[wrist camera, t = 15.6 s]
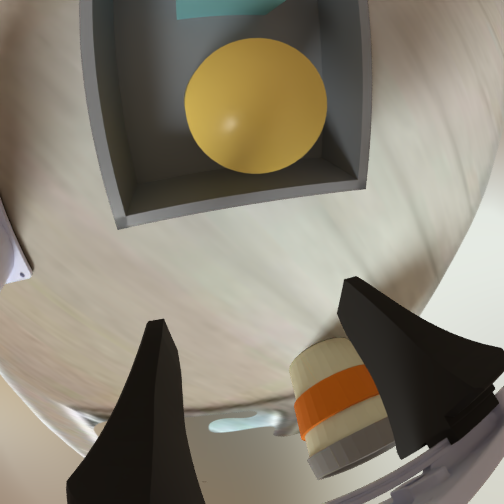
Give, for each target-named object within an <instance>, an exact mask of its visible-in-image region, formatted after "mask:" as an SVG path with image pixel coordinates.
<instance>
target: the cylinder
mask: <svg viewBox="0 0 504 504" xmlns="http://www.w3.org/2000/svg"><path fill="white" fill-rule="evenodd" d="M184 106H185V112H186V117H187V122H188V125H189V129H190V131H191V133H192V135H193V138H194V139H195V141H196V142H197V144H198V146H199V147H200V148H201V149H202V150H203V151H204V153H205V154H206V155H208V156H209V157H210V158H211V159H212V160H214V161H215V162H217V163H218V164H220V165H222V166H224V167H226V168H228V169H231V170H234V171H237V172H242V173H250V174H262V173H269V172H273V171H277V170H280V169H282V168H285V167H287V166H289V165H291V164H293V163H295V162H296V161H297V160H299V159H300V158H302V157H303V156H304V155H305V154H306V153H307V152H308V151H309V150H310V149H311V147H312V146H313V145H314V144H315V142H316V141H317V139H318V137H319V135H320V133H321V131H322V129H323V126H324V123H325V119H326V113H327V96H326V90H325V87H324V84H323V81H322V79H321V76H320V74H319V73H318V71H317V69H316V68H315V66H314V65H313V64H312V63H311V62H310V60H309V59H308V58H307V57H306V56H304V55H303V54H302V53H301V52H299V51H298V50H297V49H295V48H293V47H291V46H289V45H288V44H285V43H282V42H280V41H276V40H272V39H266V38H248V39H242V40H238V41H235V42H232V43H229V44H227V45H225V46H223V47H221V48H219V49H218V50H216V51H215V52H213V53H212V54H211V55H210V56H209V57H207V58H206V59H205V60H204V61H203V63H202V64H201V65H200V66H199V67H198V69H197V70H196V71H195V73H194V74H193V75H192V77H191V78H190V80H189V82H188V84H187V86H186V89H185V93H184Z"/></svg>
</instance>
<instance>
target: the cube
mask: <svg viewBox="0 0 504 504" xmlns="http://www.w3.org/2000/svg"><path fill="white" fill-rule="evenodd" d="M285 1H286V0H176V14H177V20H180V19H188V18H197V17H208V16H224V15H266V14H268V13H269V12H270V11H272V10H273V9H274V8H276V7H277V6H279V5H280V4H282V3H283V2H285Z"/></svg>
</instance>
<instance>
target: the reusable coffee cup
mask: <svg viewBox="0 0 504 504" xmlns="http://www.w3.org/2000/svg"><path fill="white" fill-rule="evenodd" d="M289 372H290V376H291V380H292V385H293V389H294V393H295V397H296V402H295V405H294V408H295V412H296V417H297V421H298V426H299V430H300V434H301V438H302V440H304V441H306V444H307V448H308V453H309V457H310V458H309V459H308V460H307V461H308V463H309V465H310V467H311V468H312V470H313V472H314V474H315V476H316V477H317V479H318V480H320V479H324V478H327V477H331V476H334V475H336V474H339V473H342V472H344V471H347V470H349V469H352V468H354V467H356V466H358V465H361V464H363V463H365V462H367V461H369V460H371V459H372V458H374V457H377V456H378V455H380V454H382V453H384V452H386V451H387V450H389V449H391V448H393V447H394V446H396V444H395V440H394V436H393V432H392V428H391V425H390V422H389V419H388V416H387V413H386V410H385V407H384V405H383V402H382V399H381V397H380V394H379V392H378V390H377V387H376V385H375V383H374V381H373V379H372V377H371V375H370V373H369V371H368V370H367V368H366V366H365V365H364V363H363V361H362V360H361V358H360V356H359V355H358V353H357V351H356V350H355V348H354V346H353V345H352V343H351V342H350V340H348V339H346V338H332V339H328V340H325V341H322V342H320V343H317V344H315V345H313V346H311V347H310V348H308V349H306V350H305V351H303V352H302V353H301V354H300V355H298V356H297V357H296V358H295V359H294V361H293V362H292V363H291V365H290V368H289Z"/></svg>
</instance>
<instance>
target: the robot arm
mask: <svg viewBox="0 0 504 504" xmlns="http://www.w3.org/2000/svg"><path fill="white" fill-rule="evenodd" d="M23 273H24V274H23ZM32 274H33V272H32V270H31V268H30V266H29V264H28V262H27V260H26V258H25V256H24V254H23V252H22V250H21V247H20V245H19V243H18V241H17V239H16V236H15V234H14V232H13V229H12V227H11V225H10V222H9V220H8V217H7V215H6V212H5V209H4V207H3V204H2V201H1V198H0V292H1V290H2V288H3V286H4V285H5V284H7V283H12V282H16V281H20V280H25V279H29V278H31V276H32ZM337 315H338V317H339V319H340V322H341V324H342V326H343V328H344V330H345V333H346V335H347V336H348V338H349V340H350V341H351V343H352V345H353V346H354V348H355V350H356V351H357V353H358V355H359V356H360V358H361V360H362V361H363V363H364V365H365V366H366V368H367V370H368V371H369V373H370V375H371V377H372V379H373V381H374V383H375V385H376V387H377V390H378V392H379V394H380V397H381V399H382V402H383V405H384V407H385V410H386V413H387V416H388V419H389V422H390V425H391V428H392V432H393V436H394V440H395V444H396V449H397V453H398V455H399V457H400V459H401V460H402V459H404V458H406V457H407V456H409V455H411V454H412V453H414V452H416V451H417V450H419V449H421V448H422V447H424V446H425V445H428V447H429V450H427V451H426V452H424V453H423V454H421V455H420V456H418V457H417V458H415V459H414V460H412V461H410V462H409V463H407V464H405V465H404V466H402V467H400V468H398V469H397V470H395V471H393V472H391V473H390V474H388V475H386V476H384V477H382V478H380V479H378V480H376V481H374V482H372V483H370V484H368V485H366V486H364V487H362V488H360V489H357V490H355V491H353V492H351V493H348V494H346V495H343V496H341V497H338V498H336V499H333V500H331V501H328V502H325V503H323V504H363V503H365V502H367V501H369V500H371V499H373V498H375V497H377V496H379V495H381V494H383V493H385V492H387V491H389V490H391V489H393V488H394V487H396V486H398V485H400V484H401V483H403V482H405V481H406V480H408V479H410V478H411V477H413V476H414V475H416V474H417V473H419V472H420V471H422V470H423V473H422V474H421V475H419V476H417V477H415V478H413V479H411V480H409V481H407V482H405V483H404V484H402V485H401V486H399V487H398V488H396V489H395V490H393V491H392V492H391V498H390V499H388V500H385V501H383V502H381V503H379V504H467V503H468V502H469V501H470V500H471V499H472V498H473V496H474V495H475V494H476V493H477V492H478V490H479V489H480V488H481V487H482V486H483V484H484V483H485V482H486V480H487V479H488V478H489V477H490V475H491V474H492V472H493V471H494V470H495V468H496V467H497V466H498V464H499V463H500V461H501V460H502V458H503V457H504V386H503V387H502V388H501V389H500V390H499V391H498V392H497V393H496V394H495V395H494V394H493V391H494V390H495V387H494V385H493V383H494V382H495V380H496V379H497V378H498V377H499V376H500V375H501V374H502V373H503V372H504V350H503V349H502V348H499V347H495V346H490V345H486V344H482V343H478V342H475V341H471V340H469V339H466V338H463V337H460V336H458V335H455V334H453V333H450V332H448V331H445V330H444V329H441V328H439V327H437V326H435V325H433V324H431V323H429V322H427V321H426V320H424V319H422V318H420V317H419V316H417V315H415V314H414V313H412V312H410V311H409V310H407V309H405V308H404V307H402V306H401V305H399V304H398V303H396V302H395V301H393V300H392V299H390V298H389V297H387V296H386V295H384V294H383V293H381V292H380V291H378V290H377V289H375V288H374V287H373V286H371V285H370V284H368V283H367V282H365V281H364V280H362V279H360V278H359V277H357V276H355V277H351V278H348V279H344V283H343V288H342V293H341V298H340V302H339V307H338V311H337ZM66 493H67V504H205V501H204V498H203V495H202V493H201V489H200V487H199V483H198V480H197V477H196V473H195V470H194V466H193V462H192V458H191V454H190V449H189V445H188V440H187V435H186V430H185V422H184V409H183V394H182V377H181V369H180V362H179V356H178V350H177V348H176V346H175V343H174V341H173V339H172V337H171V334H170V332H169V330H168V327H167V325H166V323H165V320H164V319H159V320H153V321H148V323H147V325H146V328H145V331H144V334H143V337H142V341H141V344H140V346H139V349H138V352H137V355H136V358H135V360H134V363H133V366H132V369H131V371H130V374H129V376H128V379H127V381H126V383H125V386H124V388H123V391H122V393H121V395H120V397H119V400H118V402H117V404H116V406H115V408H114V410H113V412H112V414H111V416H110V418H109V420H108V421H107V423H106V425H105V427H104V429H103V431H102V432H101V434H100V436H99V437H98V439H97V440H96V442H95V443H94V445H93V446H92V448H91V449H90V451H89V452H88V454H87V455H86V457H85V458H84V460H83V461H82V462H81V464H80V465H79V466H78V467H77V469H76V470H75V471H74V473H73V474H72V475H71V476H70V478H69V479H68V480H67V486H66Z"/></svg>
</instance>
